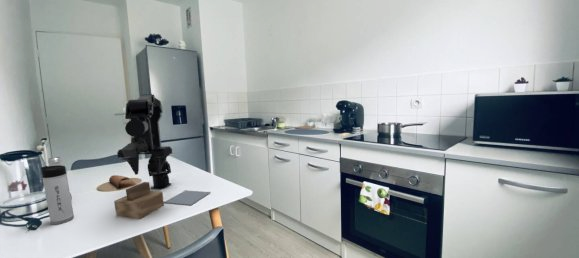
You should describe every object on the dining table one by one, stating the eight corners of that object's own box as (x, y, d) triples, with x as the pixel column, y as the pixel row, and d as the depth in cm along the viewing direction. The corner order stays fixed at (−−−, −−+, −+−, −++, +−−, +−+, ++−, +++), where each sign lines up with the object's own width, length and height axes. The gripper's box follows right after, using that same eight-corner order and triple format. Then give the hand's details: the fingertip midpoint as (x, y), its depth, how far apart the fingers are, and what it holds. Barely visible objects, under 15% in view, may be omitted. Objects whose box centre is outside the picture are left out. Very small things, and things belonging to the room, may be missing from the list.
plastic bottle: (76, 202, 107) (69, 156, 105) (57, 209, 101) (49, 160, 98) (66, 201, 109) (58, 155, 107) (47, 208, 103) (38, 159, 100)
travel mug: (59, 217, 94) (50, 164, 91) (78, 215, 94) (69, 163, 92) (44, 225, 88) (34, 169, 85) (65, 223, 88) (55, 167, 86)
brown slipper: (138, 184, 127) (129, 175, 124) (125, 195, 123) (115, 185, 120) (127, 178, 139) (118, 169, 136) (115, 187, 135) (106, 178, 132)
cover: (116, 216, 92) (112, 190, 91) (141, 203, 103) (138, 180, 101) (140, 219, 89) (136, 192, 88) (164, 205, 99) (161, 181, 98)
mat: (163, 203, 102) (163, 202, 102) (185, 191, 114) (185, 190, 114) (191, 205, 98) (191, 204, 98) (210, 192, 110) (210, 192, 110)
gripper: (101, 137, 88) (107, 181, 90) (150, 136, 85) (156, 181, 87) (126, 133, 99) (131, 172, 101) (170, 131, 96) (175, 171, 98)
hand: (147, 174), depth 96 cm, fingers open, 9 cm apart
